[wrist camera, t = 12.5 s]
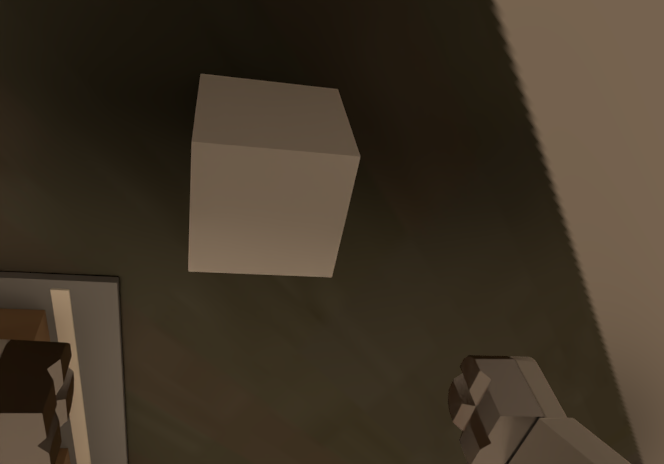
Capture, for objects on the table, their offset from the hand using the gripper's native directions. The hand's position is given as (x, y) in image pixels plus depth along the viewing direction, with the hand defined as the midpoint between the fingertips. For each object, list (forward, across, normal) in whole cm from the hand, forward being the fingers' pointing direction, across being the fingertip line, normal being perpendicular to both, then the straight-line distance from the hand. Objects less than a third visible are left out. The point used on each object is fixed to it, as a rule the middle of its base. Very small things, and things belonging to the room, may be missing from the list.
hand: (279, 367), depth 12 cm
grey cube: (+8, 0, -1) cm, 8 cm away
